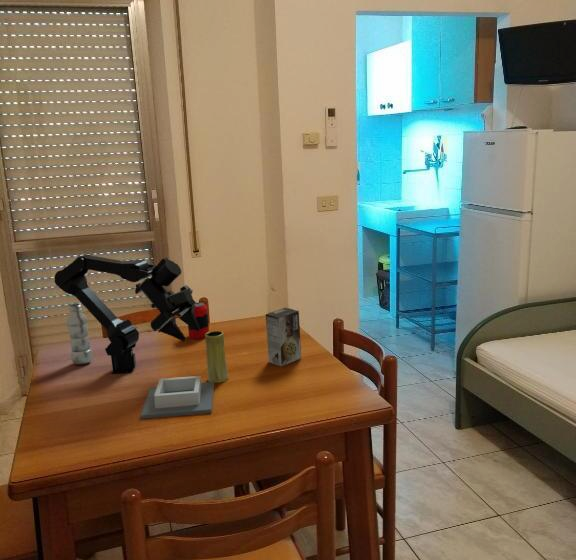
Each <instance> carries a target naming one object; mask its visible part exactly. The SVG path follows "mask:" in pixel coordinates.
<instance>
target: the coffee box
mask: <svg viewBox="0 0 576 560" xmlns="http://www.w3.org/2000/svg"><path fill="white" fill-rule="evenodd" d="M265 324H266V326H265V327H266V328H265V329H266V340H267V357H268V358H267V359H268V363H270V364H273V365H276V366H278V367H284V366H286V365H289V364H291V363H293V362H295V361H298V360H301V359H302V344H301V327H300V326H301V325H300V311H299V310H297V309H293V308H290V307H283V308H280V309H277V310H274V311H270V312H269V313H265Z"/></svg>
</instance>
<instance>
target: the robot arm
mask: <svg viewBox="0 0 576 560" xmlns="http://www.w3.org/2000/svg"><path fill="white" fill-rule="evenodd" d="M89 271H94V272H101V273H106V274H111V275H116V276H119V277H120V278H121V279H123V280H125V281H128V282H130V283H137V282H139V281H142V280H143V281H142V282H141V283H140V282H139V283H137V284H135V289H134V293H135V295H137V294H139V293H141V292H142V293H143V294H144V296H146V298H147V299H148V300H149V302H151V303H152V304H151V305H150V307H151V308H152V309H156V310H157V311H158V312H159V314H158V315H157V316H156V317H155V318H154V319H152V320H151V321H150V328H151V329H152V330H153V331H154V332H157V331H158V333H162V334H166V335H167V336H170V337H172V338H176V339H177V340H179V341H181V342H185V341H186V340H187V338H186V337H185V335H184V333H183V332H182V330H181V328H180V327H179V326H178V325H177V321H176V316H177V317H179V320H180V321H182V322H183V323H184V324H186V325H187V326H188V325H189V326H190V327H191V328H193V329H194V330H196V331H199V330H200V328H199V325H198V323H197V320H196V318H195V315H194V308H195V305H194V304H195V303H197V302H196V301H195V300H194V297H193V295H192V294H193V292H194V291H193V289H191V287H190V286H189V285H183V286H181V287H180V289H179V291H177V292H175V293H174V291H173V290H169V291H168V290H167V289H166V287H169V286H170V285H171V284H172V283H174V281H175V280H176V279H177V278H178V277H179V276H180V275H181V274H182V269H181V267H180V265H179V264H178V263H176V262H174V261H173V260H170V259H168V257H163V258H162V259H160V261H159V262H158V264H156V265H155V264H152V263H151V264H150V263H148V260H145V259H130V260H119V259H113V258H107V257H102V256H97V255H96V256H95V255H91V254H87V253H86V254H83V255H80V256H77V258H75V259H74V260H73V261H72V262H71V263H70V264H68V265H67V266H65V267H64V268H62V269H60V270H58V271H56V273H55V274H54V283H55V285H56V286H57V287H58V288H59V289H60V290H62V291H63V292H64V293H66V294H68V295H70V296H73V297H75V298H76V299H77V300H78V301H79V302H80V304H81V305H83V306H84V308H85V309H86V310H87V311H88V312H89V313H90V314H91V315H92V316H93V317H94V318H95V319H96V320H97V321H98V322H99V324H101V326H102V327H103V328H104V329H105V331H106V334H107V335H106V336H107V338H108V341H110V343H109V344H108V345H107V347H106V348H105V352H106V354H107V356H110V359H111V367H112V370H111V374H113V375H115V374H125V373H126V374H128V373H133V372H134V369H135V368H136V366H137V360H136V354H135V353H134V348H136V346H137V343H138V342H139V338H140V337H139V336H140V333H139V331H138V330H137V329H138V327H137V326H136V325H134V324H133V323H132V322H131V320H130V319H129V318H127V319H125V320H122V319H120V318H119V317H118V316H117V315H115V314H114V312H113V311H112V310H111V309H110V308H109V307H108V306H107V305H106V304H105V303H104V301H102V300H101V298H100V297H99V296H98V295H97V294H96V293H95V292H94V290H92V289H91V288H90V286H89V285H88V280H87V279H88V278H87V277H86V274H88V272H89ZM149 277H150V278H149ZM193 305H194V306H193Z"/></svg>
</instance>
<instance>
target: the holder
mask: <svg viewBox="0 0 576 560" xmlns="http://www.w3.org/2000/svg"><path fill="white" fill-rule="evenodd" d="M214 391H215V383H214V382H209V381H207V382H206V381H205V382H202V377H201V375H195V376H194V375H193V376H182V377H181V376H179V377H169V378H168V377H167V378H166V377H165V378H159V380H158V383H157V386H156V385H155V386H150V388H149V390H148V394H147V396H146V399H145V401H144V405H143V407H142V409H141V414H140V419H141V420H144V419H153V418H155V419H156V418H166V417H177V416H180V417H181V416H189V415H190V416H191V415H201V414H202V415H203V414H212V413H213V403H214Z"/></svg>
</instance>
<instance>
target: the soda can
mask: <svg viewBox="0 0 576 560" xmlns="http://www.w3.org/2000/svg"><path fill="white" fill-rule="evenodd" d="M194 305H195V308H194V315H195V318H196V320H197V323H198V325H199V328H200V330H199V331H196V330H194V329H193V328H191V327H190V326H189V325H187V328H188V337H189V338H190V339H193V340H200V339H206V338H205V334H206V333H208V332H210V324H209V322H210V321H209V313H208V306H207V305H206V304H205V303H204V302H196V303H195V304H194ZM194 305H193V306H194Z"/></svg>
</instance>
